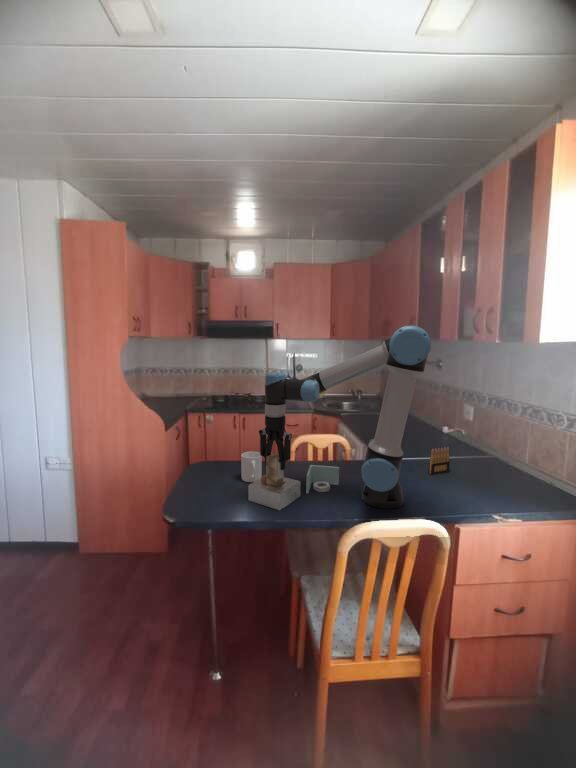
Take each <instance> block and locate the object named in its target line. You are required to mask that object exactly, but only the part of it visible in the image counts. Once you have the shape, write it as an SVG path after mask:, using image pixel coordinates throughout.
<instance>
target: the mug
mask: <svg viewBox="0 0 576 768" xmlns="http://www.w3.org/2000/svg"><path fill="white" fill-rule="evenodd" d="M240 457H241V459H240V462H241V466H240V468H241V470H240V471H241V475H240V476H241V480H242V481H243V482H246V483H253V482H255V481H257V480H259V479H261V476H263V474H262V473H263V472H262V469H263V468H262V463H263V461H262V460H263V459H262V457H263V456H261V455H260V451H245V452H243V453H241V455H240Z"/></svg>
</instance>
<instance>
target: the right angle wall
mask: <svg viewBox="0 0 576 768" xmlns="http://www.w3.org/2000/svg"><path fill="white" fill-rule="evenodd" d="M339 479H340V467H339V466H332V465H331V466H327V465H318V464H317V465H315V464H310V465H309V467H308V470H307V472H306V479H305V480H306V482H305V483H306V484H305V486H306V487H305V493H306V494H309V492H310V490H311V486H313V487H312V489H313V490H314V491H316V492H317V493H326V492H329V491H330V490H331V485H332V486H333V485H335V486H339V484H340V483H339V482H340V480H339ZM312 483H313V484H312Z"/></svg>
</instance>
